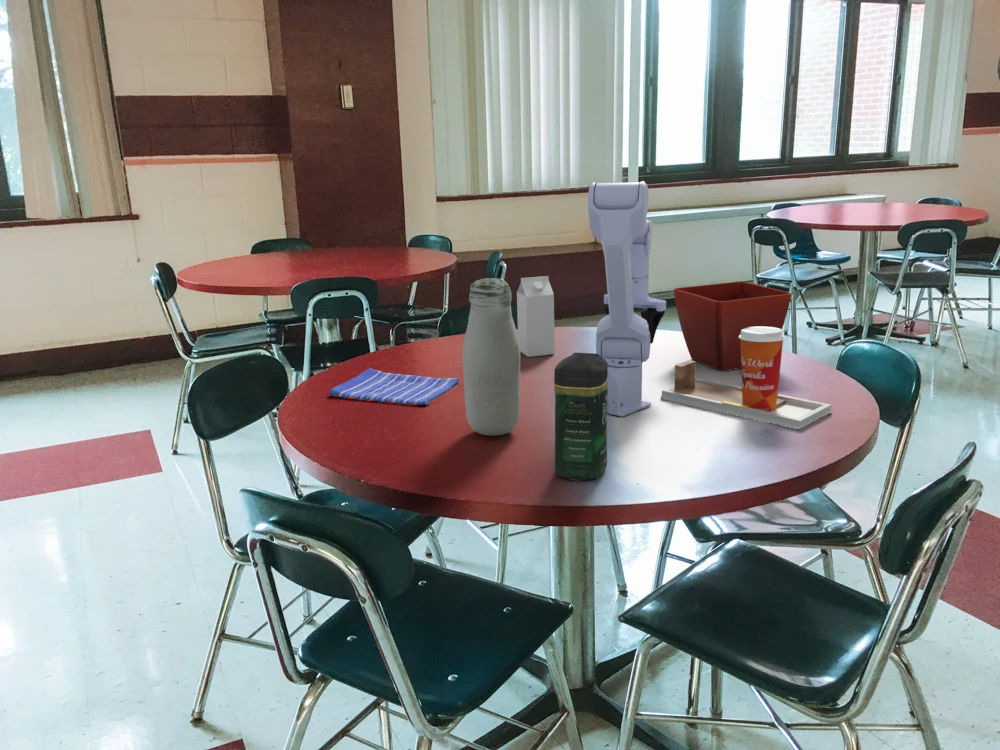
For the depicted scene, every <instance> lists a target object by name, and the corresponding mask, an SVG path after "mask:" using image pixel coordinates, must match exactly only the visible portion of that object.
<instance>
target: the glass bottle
mask: <svg viewBox="0 0 1000 750" xmlns="http://www.w3.org/2000/svg"><path fill="white" fill-rule="evenodd" d="M508 283H509V282H506V280H504V279H501V278H497V277H486V278H480V279H478V280H477V279H476V280H475V281H474V282H473V283H471V284H470V285H469V287H470V288H469V295H468V300H469V301H468V302H469V304H470V310H469V314H468V323H467V326H466V331H465V333H464V336H463V337H464V340H463V343H462V344H463V345H462V373H463V389H464V390H463V391H464V407H465V417H466V420H467V422H468V425H469V426H470V428H471V429H472V430H473V431H475V432H476V433H478V434H480V435H484V436H490V437H497V436H502V435H507V434H508V433H510V432H512V431H513V430H514V429H515V428H516V427H517V424H518V423H519V419H520V413H521V352H520V344H519V339H518V331H517V329H516V325H515V322H514V318H513V315H512V312H513V311H512V306H511V305H512V304H511V303H512V290H511V287H510V285H509V284H508Z"/></svg>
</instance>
